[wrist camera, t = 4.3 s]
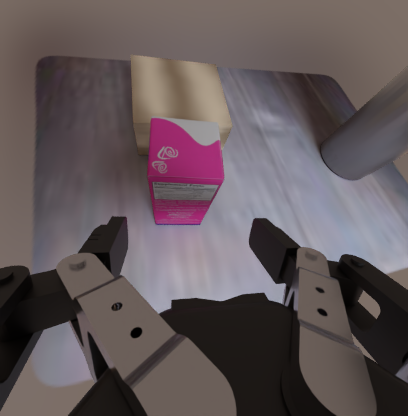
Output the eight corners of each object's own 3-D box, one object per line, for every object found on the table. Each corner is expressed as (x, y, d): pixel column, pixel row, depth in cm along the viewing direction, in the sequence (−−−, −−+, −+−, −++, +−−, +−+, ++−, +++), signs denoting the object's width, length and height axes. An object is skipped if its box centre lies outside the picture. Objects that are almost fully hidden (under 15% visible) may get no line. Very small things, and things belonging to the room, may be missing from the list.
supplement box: (155, 184, 25) (150, 111, 15) (198, 186, 27) (222, 120, 16) (153, 225, 23) (146, 175, 13) (200, 226, 24) (229, 180, 14)
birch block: (207, 100, 34) (215, 64, 29) (219, 155, 30) (232, 126, 24) (136, 95, 31) (130, 54, 26) (138, 156, 27) (133, 122, 21)
